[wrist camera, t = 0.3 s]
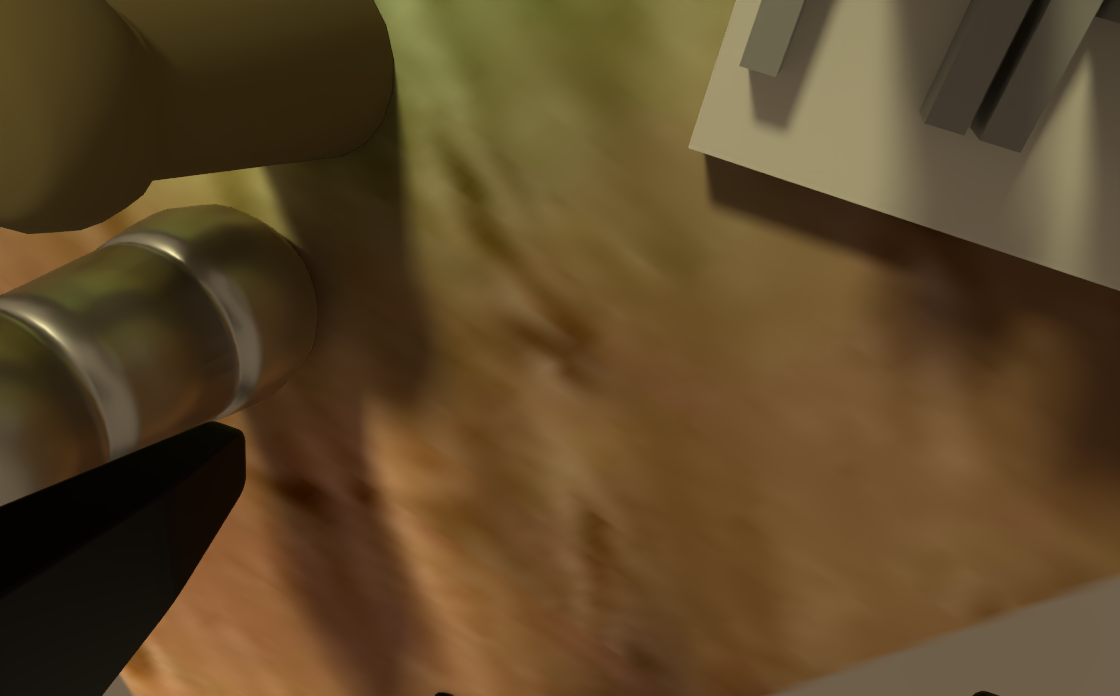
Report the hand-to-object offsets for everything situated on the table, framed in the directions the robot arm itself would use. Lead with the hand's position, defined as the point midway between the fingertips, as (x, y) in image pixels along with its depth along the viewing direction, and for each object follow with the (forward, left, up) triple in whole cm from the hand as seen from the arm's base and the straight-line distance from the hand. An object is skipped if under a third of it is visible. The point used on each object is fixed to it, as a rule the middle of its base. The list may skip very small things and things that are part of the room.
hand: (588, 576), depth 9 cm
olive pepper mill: (+1, +14, -15) cm, 20 cm away
